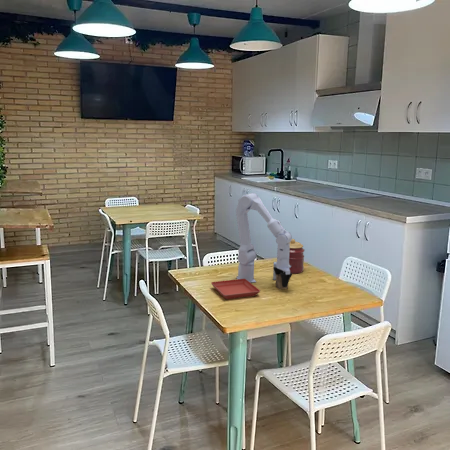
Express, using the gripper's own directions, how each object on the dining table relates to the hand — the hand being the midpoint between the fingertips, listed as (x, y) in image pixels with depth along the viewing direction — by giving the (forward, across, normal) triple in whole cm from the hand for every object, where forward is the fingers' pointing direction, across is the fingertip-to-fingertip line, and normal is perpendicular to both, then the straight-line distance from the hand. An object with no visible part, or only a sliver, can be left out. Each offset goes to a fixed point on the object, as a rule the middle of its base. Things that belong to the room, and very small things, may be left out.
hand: (281, 284), depth 219 cm
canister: (+2, +25, -15) cm, 29 cm away
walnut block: (+2, 0, 0) cm, 2 cm away
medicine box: (+2, +12, -4) cm, 13 cm away
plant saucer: (+2, -2, +24) cm, 24 cm away
